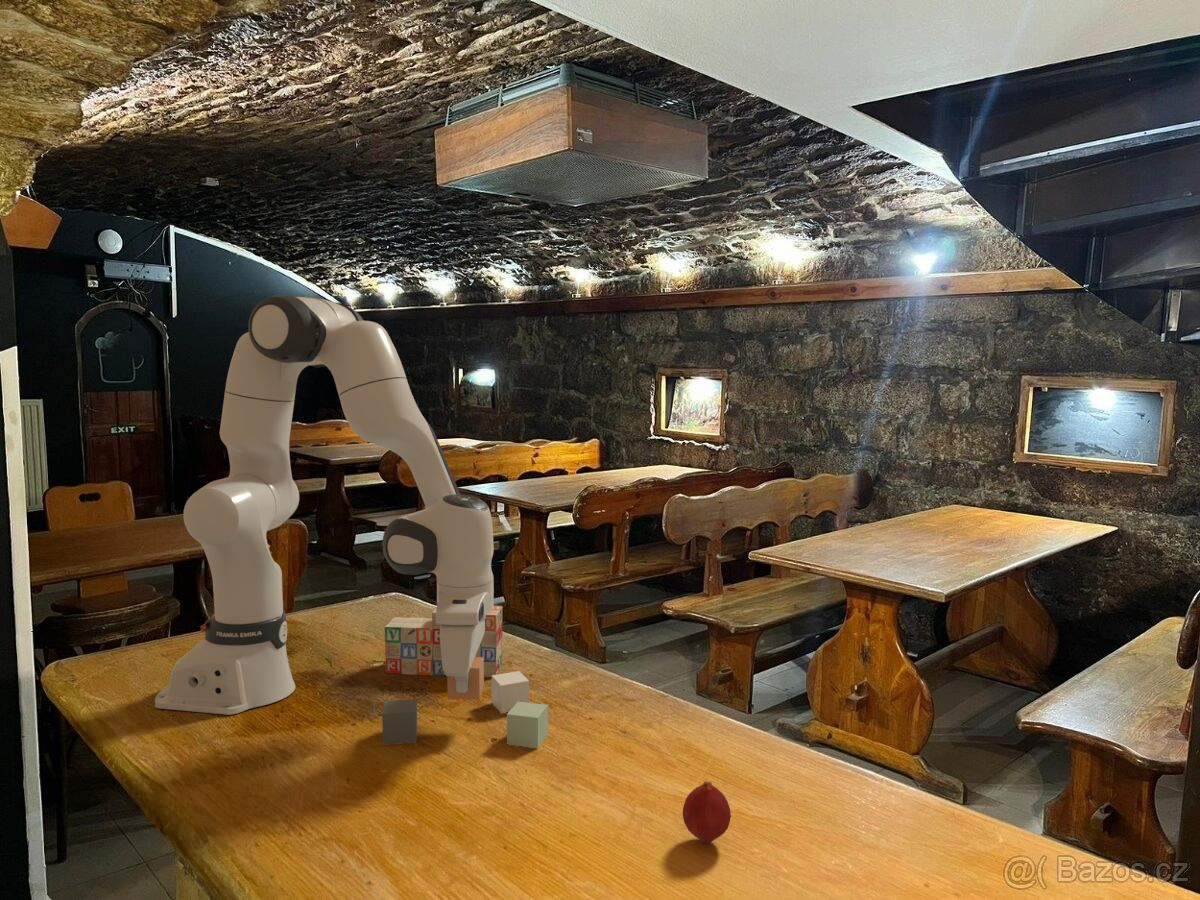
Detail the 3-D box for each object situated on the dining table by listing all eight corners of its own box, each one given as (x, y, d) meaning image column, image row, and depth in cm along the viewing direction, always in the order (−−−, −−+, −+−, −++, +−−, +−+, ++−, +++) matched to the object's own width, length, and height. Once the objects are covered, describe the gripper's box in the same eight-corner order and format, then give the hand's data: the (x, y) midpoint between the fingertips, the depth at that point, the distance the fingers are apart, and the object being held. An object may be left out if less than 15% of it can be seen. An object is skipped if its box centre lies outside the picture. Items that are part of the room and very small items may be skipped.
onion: (678, 830, 105) (679, 769, 104) (723, 828, 106) (725, 767, 105) (687, 857, 99) (688, 792, 98) (734, 854, 100) (736, 791, 99)
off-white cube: (501, 714, 140) (500, 685, 139) (491, 703, 144) (491, 675, 144) (529, 709, 142) (529, 680, 141) (519, 698, 146) (518, 671, 146)
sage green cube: (506, 745, 128) (506, 714, 128) (518, 731, 133) (518, 701, 133) (537, 749, 127) (537, 717, 127) (548, 735, 132) (548, 704, 131)
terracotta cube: (447, 699, 131) (447, 668, 130) (452, 686, 136) (452, 657, 135) (479, 699, 131) (479, 668, 130) (483, 687, 136) (483, 657, 135)
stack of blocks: (384, 674, 157) (383, 610, 156) (395, 662, 164) (393, 601, 162) (496, 678, 156) (496, 614, 154) (503, 666, 162) (502, 604, 161)
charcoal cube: (382, 745, 128) (382, 714, 127) (385, 731, 133) (384, 701, 132) (416, 743, 129) (415, 711, 128) (417, 729, 134) (416, 699, 133)
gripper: (456, 581, 142) (456, 659, 143) (433, 617, 122) (433, 708, 123) (493, 581, 142) (493, 660, 144) (476, 617, 122) (476, 709, 123)
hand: (465, 683), depth 133 cm, fingers closed on terracotta cube, 5 cm apart
